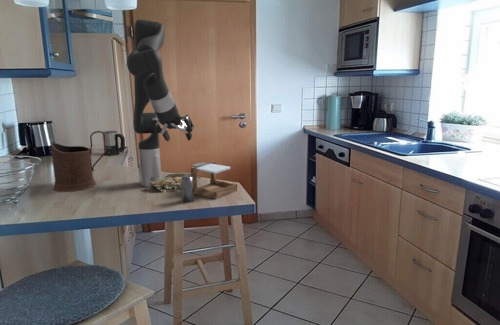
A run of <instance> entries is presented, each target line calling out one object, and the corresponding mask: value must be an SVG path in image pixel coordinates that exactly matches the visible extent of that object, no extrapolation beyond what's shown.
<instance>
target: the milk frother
mask: <svg viewBox="0 0 500 325" xmlns="http://www.w3.org/2000/svg"><path fill="white" fill-rule="evenodd" d="M102 132H103V133H104V134H105V141H106V153H105V154H104V156H109V157H110V156H118V155H119V154H120V152H124V151H125V150H126V149H127V148H128V146H126V142H125V141H126V140H125V137H126V136H124V135H123V134H122V133H117V132H118V131H117V130H106V131H105V130H104V131H102ZM118 138H119V139H120V147H119V139H118ZM102 142H103V151H104V152H105V146H104V136H103V135H102ZM104 152H103V153H104Z"/></svg>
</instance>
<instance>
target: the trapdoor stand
mask: <svg viewBox="0 0 500 325" xmlns="http://www.w3.org/2000/svg"><path fill="white" fill-rule="evenodd" d="M210 163H212V164H217V163H216V161H214V160H212V161H210ZM210 163H209V164H210ZM190 173H191V176H193V193H194V195H198V196H203V197H206V198H210V199H214V200H217V199H220V198H222V197H225V196H227V195H230V194H232V193H235V192H238V184H237V183H234V182H228V181H223V180H220V179H217V173H216V174H214V173H210V179H209V183H208V184H205V185H202V186H199V187H198V182H197V176H198V174H197V171H196V167H191V166H190Z"/></svg>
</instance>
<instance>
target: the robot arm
mask: <svg viewBox="0 0 500 325" xmlns="http://www.w3.org/2000/svg"><path fill="white" fill-rule="evenodd" d="M165 33H166V31H165V26H164V24H163V23H161V22H158V21H153V20H146V19H137V20H135V22H134V28H133V37H134V39H133V40H134V42H133V43H134V50H132V51H131V52H130V53H129V54H128V56H127V59H126V67H127V69H128V72H129V73H130V74H131V75H132V76H134V107H133V109H134V110H133V123H132V124H133V126H132V127H133V130H134V132H135V133H136V134H138V135H139V134H140V135H141V134H150V135H149V136H148V137H146V138H145V139H142V140H140V141H139V142H138V157H139V164H138V174H139V175H138V177H139V185H141V186H142V187H146V188H149V187H151V186H152V187H154V186H153V185H152V184H151V183H150V182H149V181H151V180H154V179H157V178H160V177H162V168H161V165H162V164H161V150H160V135H162V137H163V139H164V140H165V141H166V142H170V139H171V136H170V134H169V131H168V130H172V129H175V130H179V131H180V132H181V131H182V132H183V133H184V135H185V136H186V139H187V141H191V140H192V138H193V135H192V134H193V133H192V132H193V130H194V127H195V126H194V123H193V122H192V120H191V117H190V115H189V114H185V116H181V115H180V113H179V110H178V107H177V105H176V102H175V100H174V98H173V96H172V93H171V91H170V90H169V88H168V85H167V83H166V80H165V76H164V72H163V60H162V55H161V54H160V52H159V51H160V50H161V48H162V47H163V45H164V42H165V35H166V34H165ZM149 103H150V104H151V107H152V110H153V111H154V112H144V110H145V109H146V107H147V105H148V104H149ZM161 125H162V127H161ZM167 129H168V130H167ZM152 187H151V188H152Z"/></svg>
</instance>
